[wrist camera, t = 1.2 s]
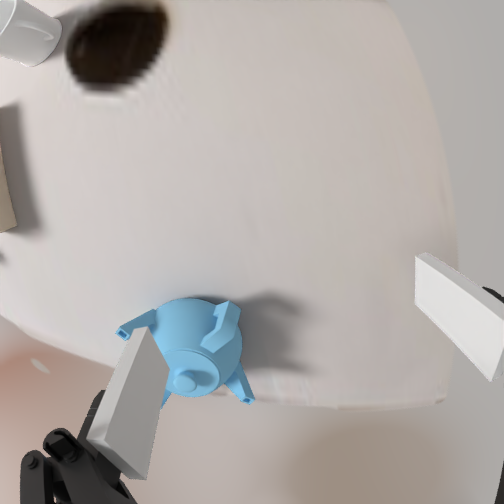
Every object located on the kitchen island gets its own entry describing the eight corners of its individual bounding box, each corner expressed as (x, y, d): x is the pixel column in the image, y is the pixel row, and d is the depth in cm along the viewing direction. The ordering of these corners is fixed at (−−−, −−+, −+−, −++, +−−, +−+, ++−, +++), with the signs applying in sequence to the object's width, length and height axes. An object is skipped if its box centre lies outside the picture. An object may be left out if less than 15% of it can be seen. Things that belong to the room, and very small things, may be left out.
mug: (86, 24, 25) (44, -8, 14) (56, 75, 27) (4, 58, 16) (39, 16, 22) (-3, -7, 11) (13, 62, 25) (-35, 50, 13)
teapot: (252, 368, 43) (258, 419, 33) (162, 375, 43) (149, 424, 33) (238, 282, 38) (240, 327, 28) (132, 295, 38) (106, 339, 28)
